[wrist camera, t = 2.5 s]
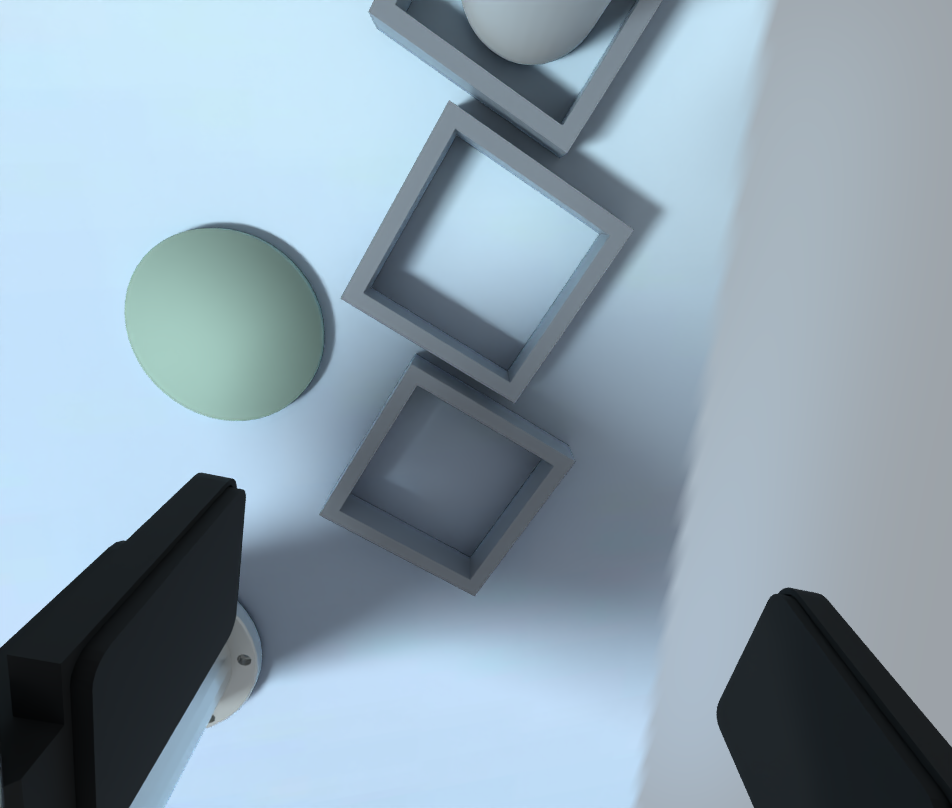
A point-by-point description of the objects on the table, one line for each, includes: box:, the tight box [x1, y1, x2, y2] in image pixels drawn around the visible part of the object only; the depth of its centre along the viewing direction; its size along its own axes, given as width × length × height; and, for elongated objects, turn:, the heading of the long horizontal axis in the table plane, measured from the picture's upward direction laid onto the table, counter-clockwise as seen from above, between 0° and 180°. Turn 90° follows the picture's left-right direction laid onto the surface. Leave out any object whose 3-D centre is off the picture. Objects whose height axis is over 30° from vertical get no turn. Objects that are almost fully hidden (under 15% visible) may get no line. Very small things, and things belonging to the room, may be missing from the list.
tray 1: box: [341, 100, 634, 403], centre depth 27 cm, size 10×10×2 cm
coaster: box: [125, 228, 324, 421], centre depth 29 cm, size 10×10×1 cm
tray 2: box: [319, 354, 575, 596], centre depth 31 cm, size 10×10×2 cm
